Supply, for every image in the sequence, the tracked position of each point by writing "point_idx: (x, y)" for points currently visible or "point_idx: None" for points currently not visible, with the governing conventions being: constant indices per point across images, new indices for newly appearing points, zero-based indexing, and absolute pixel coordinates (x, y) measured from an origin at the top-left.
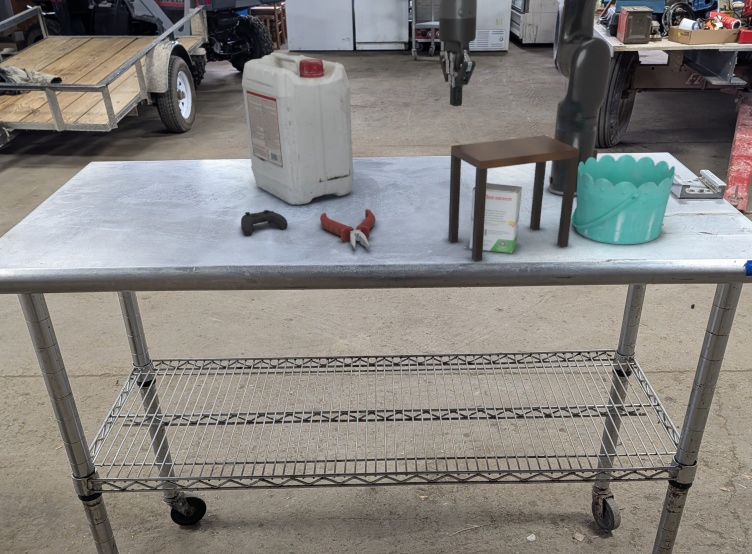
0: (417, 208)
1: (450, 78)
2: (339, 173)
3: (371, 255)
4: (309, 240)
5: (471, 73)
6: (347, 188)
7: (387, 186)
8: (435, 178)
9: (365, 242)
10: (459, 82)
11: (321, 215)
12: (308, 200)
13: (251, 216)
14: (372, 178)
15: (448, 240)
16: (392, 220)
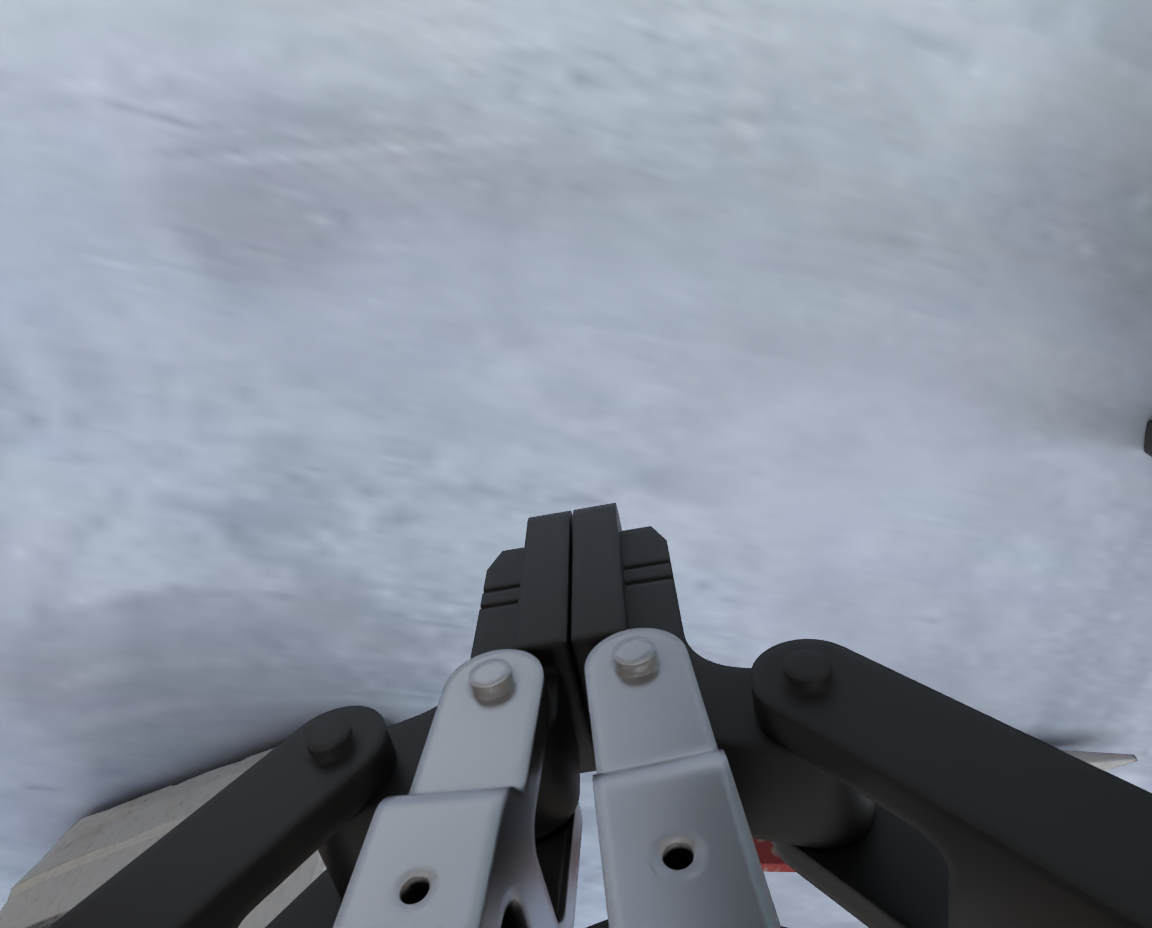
0: (656, 485)
1: (574, 897)
2: None
3: (1135, 734)
4: None
5: (1139, 801)
6: None
7: (264, 553)
8: (113, 275)
9: (1100, 768)
10: (896, 817)
11: (765, 870)
12: None
13: None
14: (113, 597)
15: (1146, 451)
16: (788, 613)
